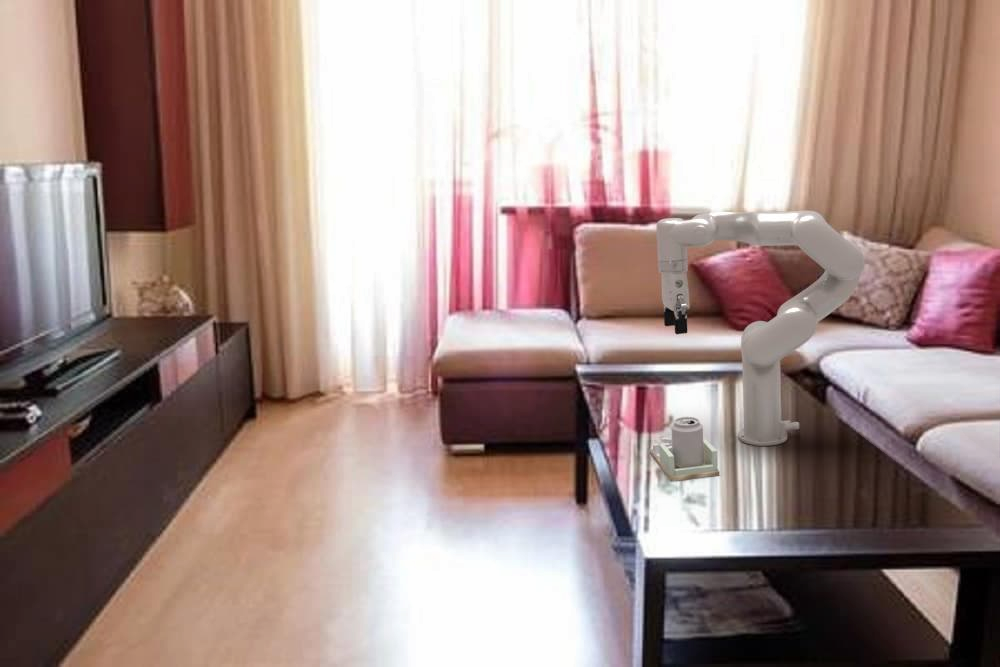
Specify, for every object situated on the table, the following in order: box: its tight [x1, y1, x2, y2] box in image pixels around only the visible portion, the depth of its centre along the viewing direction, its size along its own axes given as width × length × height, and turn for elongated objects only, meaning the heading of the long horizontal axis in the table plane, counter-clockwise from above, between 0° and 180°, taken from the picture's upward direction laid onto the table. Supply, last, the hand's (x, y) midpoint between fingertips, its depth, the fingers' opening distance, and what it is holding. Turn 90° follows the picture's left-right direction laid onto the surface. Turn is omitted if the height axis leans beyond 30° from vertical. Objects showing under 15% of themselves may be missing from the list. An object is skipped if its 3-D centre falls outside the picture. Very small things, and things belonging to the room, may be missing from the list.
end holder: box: [659, 438, 719, 476], centre depth 218 cm, size 12×10×5 cm
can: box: [671, 416, 704, 469], centre depth 218 cm, size 8×8×12 cm
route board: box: [649, 448, 720, 482], centre depth 224 cm, size 12×20×1 cm, turn 5°
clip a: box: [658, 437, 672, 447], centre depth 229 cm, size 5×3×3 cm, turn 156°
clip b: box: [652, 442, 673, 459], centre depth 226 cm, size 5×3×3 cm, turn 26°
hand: (675, 329), depth 235 cm, fingers open, 9 cm apart
